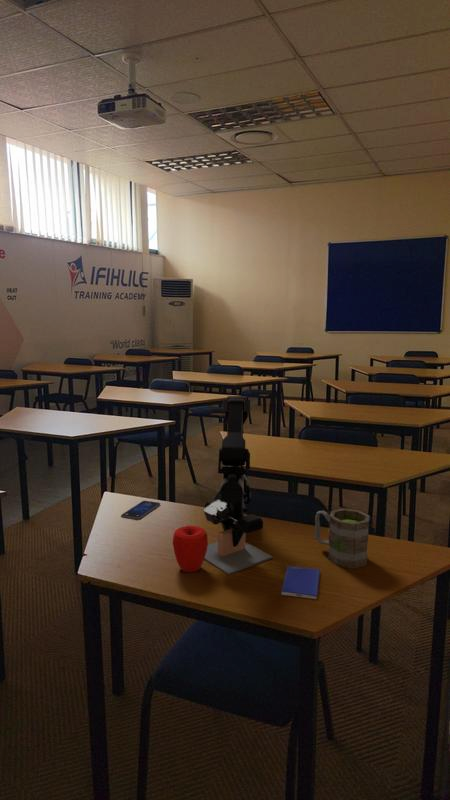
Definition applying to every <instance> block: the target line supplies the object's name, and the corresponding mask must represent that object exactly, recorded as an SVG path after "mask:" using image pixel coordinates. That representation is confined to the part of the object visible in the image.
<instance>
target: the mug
mask: <svg viewBox="0 0 450 800" xmlns="http://www.w3.org/2000/svg"><path fill="white" fill-rule="evenodd" d="M321 515H322V516H323V517H324V518H325V520H326V521H327V522H328V523H329V533H328V540H323V539H322V537H321V533H320V532H321V531H320V528H321V522H320V521H321V520H320V516H321ZM370 516H371V515H369V514H367V513H365V512H363V511H361V510H359V509H350V508H341V509H340V508H339V509H335V510H331V512H330V514H329V513H328V512H326V511H325V510H319V511H317V512H316V514H315V516H314V523H315V527H314V529H315V531H314V532H315V534H314V535H315V539H316V541H317V542H318V543H319V544H321V545H325V546H326V545H328V554H327V559H328V561H330V562H331V563H333V564H334V565H336V566H337V567H343V568H349V569H357V568H361V567H364V566H367V563H368V543H369V522H370V518H371V517H370Z"/></svg>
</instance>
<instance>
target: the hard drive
mask: <svg viewBox="0 0 450 800" xmlns="http://www.w3.org/2000/svg"><path fill="white" fill-rule="evenodd" d="M286 567H287V568H286V572H285V575H284V576H285V577H284V578H283V584H282V588H281V592H280V593H281V595H283V596H291V597H295V598H296V597H298V598H304V599H305V598H306V599H313V600H317V599H318V594H319V593H318V592H319V584H320V576H321V573H320V572H321V570H320V569H317V568H310V567H302V566H301V567H300V566H292V565H287V566H286Z"/></svg>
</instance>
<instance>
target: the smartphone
mask: <svg viewBox="0 0 450 800" xmlns="http://www.w3.org/2000/svg"><path fill="white" fill-rule="evenodd" d="M160 504H161V502H157V501H150V500H142V501H141V502H139V503H137V504H136V505H134V506H133V507H131V508H130V509H128V510H127V511H125V512H123V513H122V514H121V515H120V517H121V518H124V519H130V520H135V521H139V520H141V519H143V518H144V517H146V516H148V515H149V514H151V512H153V511H155V510H156V509H158V508H159V507H160V506H161V505H160ZM159 505H160V506H159ZM158 506H159V507H158Z"/></svg>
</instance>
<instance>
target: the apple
mask: <svg viewBox="0 0 450 800" xmlns="http://www.w3.org/2000/svg"><path fill="white" fill-rule="evenodd" d="M208 545H209V544H208V533H207V531H206V529H204V528H202V527H200V526H196V525H195V526H194V525H185V526H181V527H178V528H177V529H176V530H174V533H173V537H172V547H173V552H174V556H175V559H176V562H177V564H178V566H179V568H180V569H181V570H182V571H183V572H188V573H191V572H192V573H193V572H197V571H198V570H200V569H201V567H202V565H203V563H204V561H205V559H204V558H205V555H206V551H207V547H208Z"/></svg>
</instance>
